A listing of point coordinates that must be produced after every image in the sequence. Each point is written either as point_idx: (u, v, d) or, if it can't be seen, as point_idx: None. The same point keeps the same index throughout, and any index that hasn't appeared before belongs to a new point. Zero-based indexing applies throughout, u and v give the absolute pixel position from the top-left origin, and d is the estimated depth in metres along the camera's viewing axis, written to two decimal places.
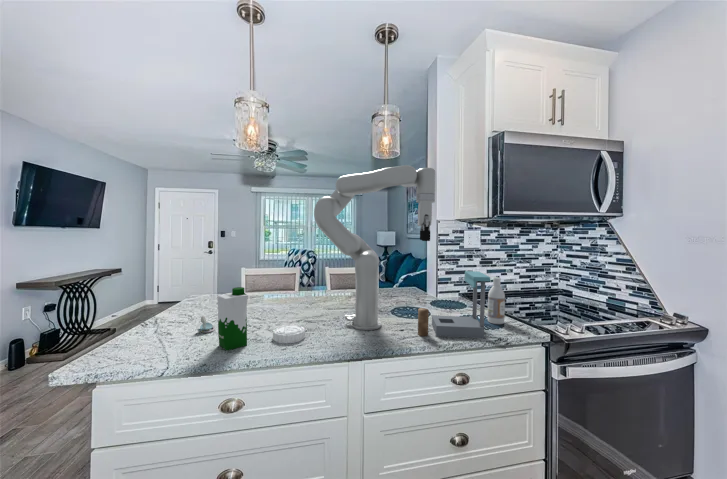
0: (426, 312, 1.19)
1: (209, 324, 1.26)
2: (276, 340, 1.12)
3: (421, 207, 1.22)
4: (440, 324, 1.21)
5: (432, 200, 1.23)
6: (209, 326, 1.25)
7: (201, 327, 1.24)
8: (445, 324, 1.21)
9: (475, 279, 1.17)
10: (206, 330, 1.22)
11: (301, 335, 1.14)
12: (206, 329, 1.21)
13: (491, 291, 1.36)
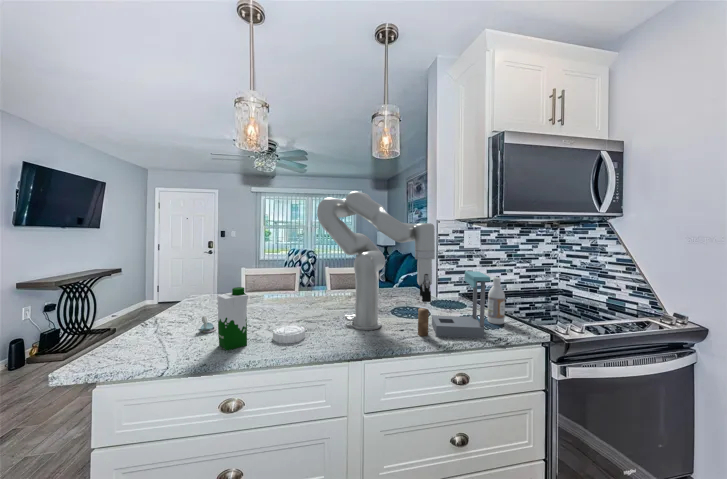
0: (426, 312, 1.19)
1: (210, 324, 1.26)
2: (276, 340, 1.12)
3: (420, 266, 1.15)
4: (440, 324, 1.21)
5: (432, 258, 1.16)
6: (210, 326, 1.25)
7: (202, 327, 1.24)
8: (445, 324, 1.21)
9: (475, 279, 1.17)
10: (207, 330, 1.22)
11: (301, 335, 1.14)
12: (207, 329, 1.21)
13: (491, 291, 1.36)
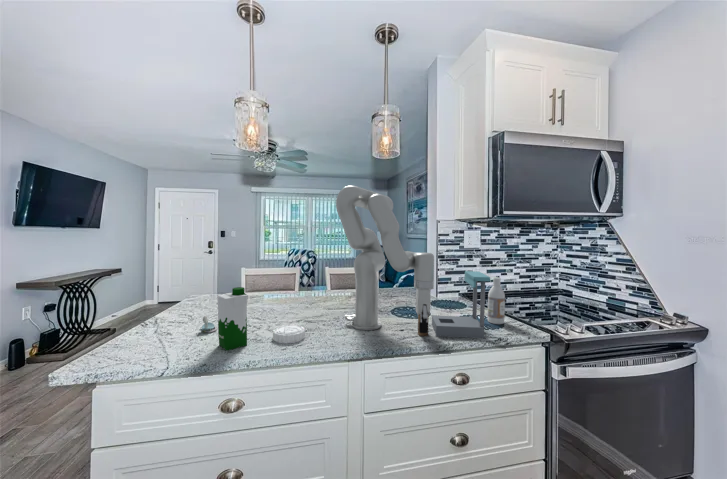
0: None
1: (211, 324, 1.26)
2: (276, 340, 1.12)
3: (419, 296, 1.16)
4: (440, 324, 1.21)
5: (431, 288, 1.17)
6: (211, 326, 1.25)
7: (203, 327, 1.24)
8: (445, 324, 1.21)
9: (475, 279, 1.17)
10: (208, 330, 1.22)
11: (301, 335, 1.14)
12: (208, 329, 1.21)
13: (491, 291, 1.36)
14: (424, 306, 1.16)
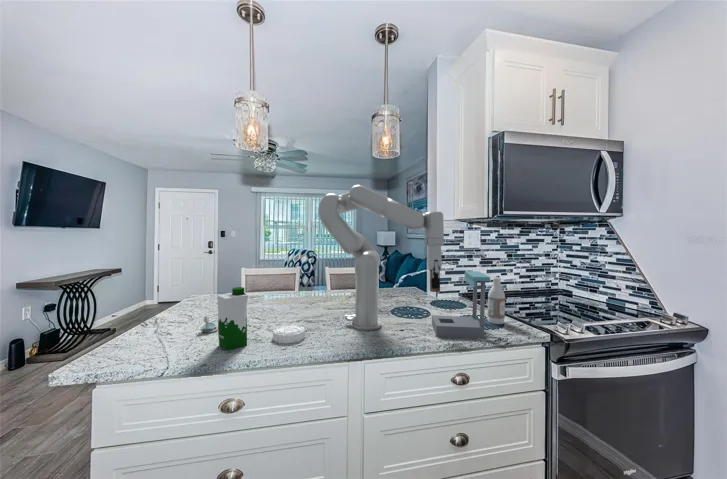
0: None
1: (212, 324, 1.26)
2: (276, 340, 1.12)
3: (430, 252, 1.21)
4: (440, 324, 1.21)
5: (441, 244, 1.22)
6: (212, 326, 1.25)
7: (204, 327, 1.24)
8: (445, 324, 1.21)
9: (475, 279, 1.17)
10: (209, 330, 1.22)
11: (301, 335, 1.14)
12: (209, 329, 1.21)
13: (491, 291, 1.36)
14: (435, 262, 1.20)
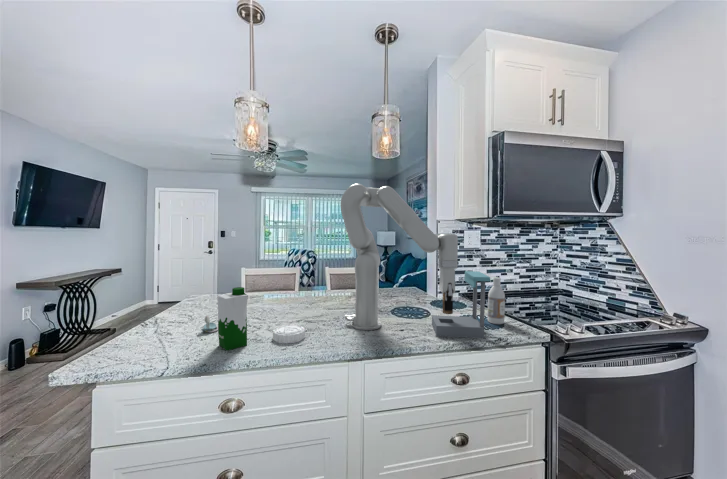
0: None
1: (213, 324, 1.26)
2: (276, 340, 1.12)
3: (444, 275, 1.20)
4: (440, 324, 1.21)
5: (455, 267, 1.22)
6: (213, 326, 1.25)
7: (205, 327, 1.24)
8: (445, 324, 1.21)
9: (475, 279, 1.17)
10: (210, 330, 1.22)
11: (301, 335, 1.14)
12: (210, 329, 1.21)
13: (491, 291, 1.36)
14: (449, 284, 1.20)
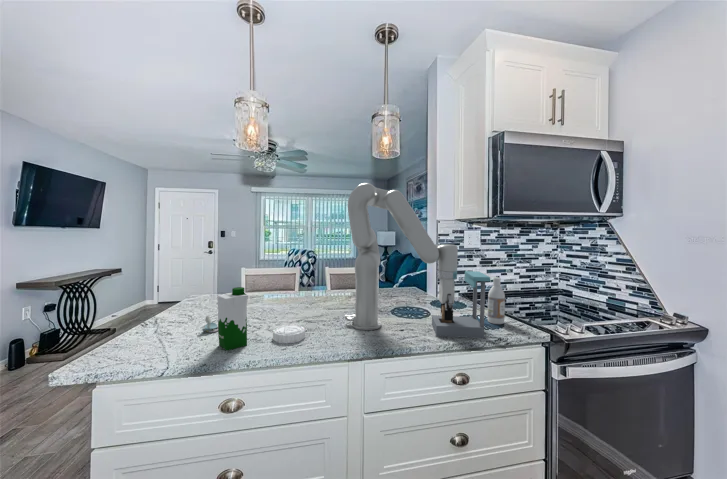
0: None
1: (214, 324, 1.26)
2: (276, 340, 1.12)
3: (444, 286, 1.21)
4: (440, 324, 1.21)
5: (455, 278, 1.22)
6: (214, 326, 1.25)
7: (206, 327, 1.24)
8: (445, 324, 1.21)
9: (475, 279, 1.17)
10: (211, 330, 1.22)
11: (301, 335, 1.14)
12: (211, 329, 1.21)
13: (491, 291, 1.36)
14: None
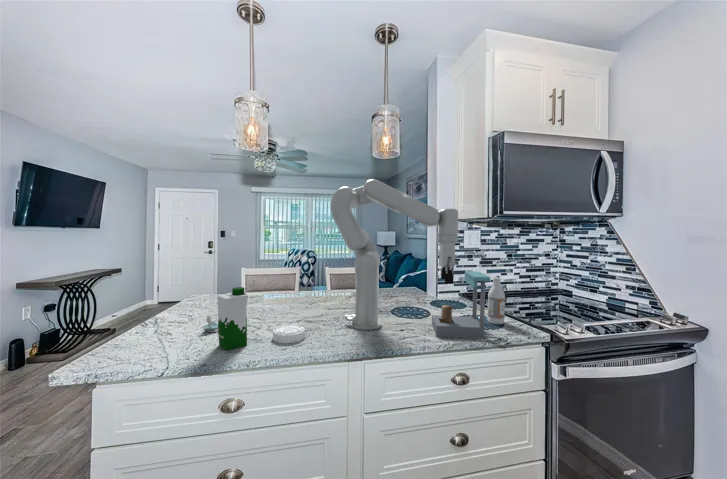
0: (450, 309, 1.24)
1: (215, 324, 1.26)
2: (276, 340, 1.12)
3: (444, 249, 1.20)
4: (440, 324, 1.21)
5: (455, 242, 1.21)
6: (215, 326, 1.25)
7: (207, 327, 1.24)
8: (445, 324, 1.21)
9: (475, 279, 1.17)
10: (212, 330, 1.22)
11: (301, 335, 1.14)
12: (212, 329, 1.21)
13: (491, 291, 1.36)
14: None
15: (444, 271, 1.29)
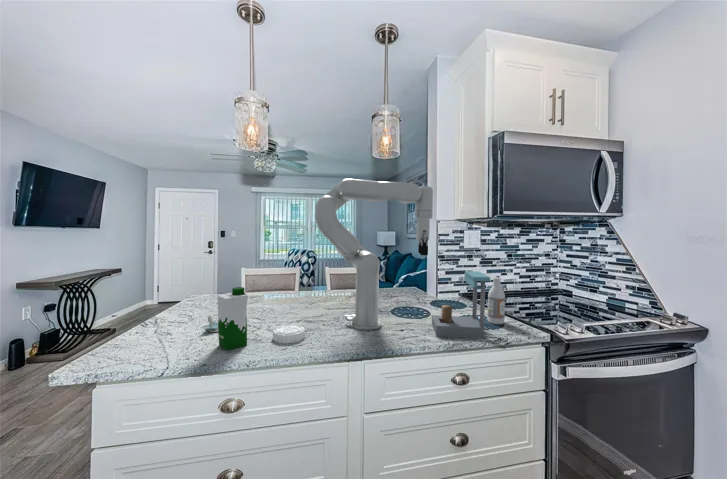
0: (450, 309, 1.24)
1: (216, 324, 1.26)
2: (276, 340, 1.12)
3: (419, 223, 1.30)
4: (440, 324, 1.21)
5: (430, 217, 1.32)
6: (216, 326, 1.25)
7: (208, 327, 1.24)
8: (445, 324, 1.21)
9: (475, 279, 1.17)
10: (213, 330, 1.22)
11: (301, 335, 1.14)
12: (213, 329, 1.21)
13: (491, 291, 1.36)
14: None
15: (421, 245, 1.40)
